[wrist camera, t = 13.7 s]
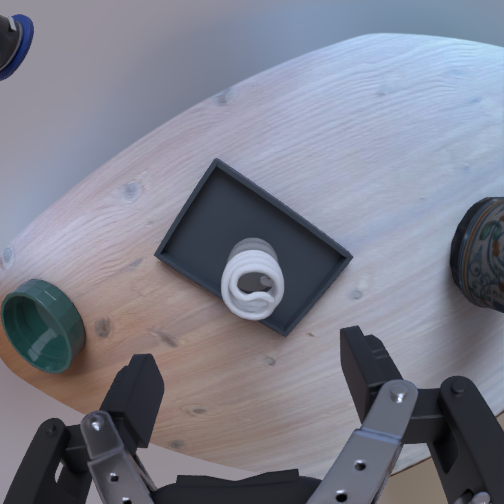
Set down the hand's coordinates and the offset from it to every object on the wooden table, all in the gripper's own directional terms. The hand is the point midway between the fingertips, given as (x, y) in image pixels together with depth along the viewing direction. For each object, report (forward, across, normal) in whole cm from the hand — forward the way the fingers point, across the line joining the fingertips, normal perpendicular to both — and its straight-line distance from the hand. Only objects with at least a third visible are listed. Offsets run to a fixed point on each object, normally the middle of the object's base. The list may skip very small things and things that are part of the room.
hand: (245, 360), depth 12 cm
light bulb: (+25, 0, +4) cm, 25 cm away
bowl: (+25, +34, +10) cm, 43 cm away
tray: (+25, 0, +4) cm, 25 cm away
